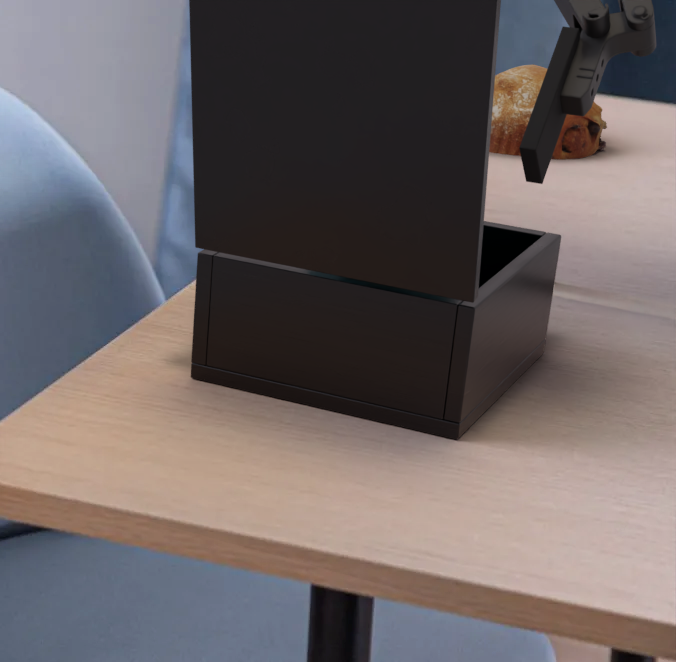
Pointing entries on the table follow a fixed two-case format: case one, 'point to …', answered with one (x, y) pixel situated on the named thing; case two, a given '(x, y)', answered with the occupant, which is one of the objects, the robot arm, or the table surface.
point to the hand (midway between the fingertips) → (387, 145)
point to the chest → (377, 334)
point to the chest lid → (346, 136)
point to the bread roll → (516, 108)
